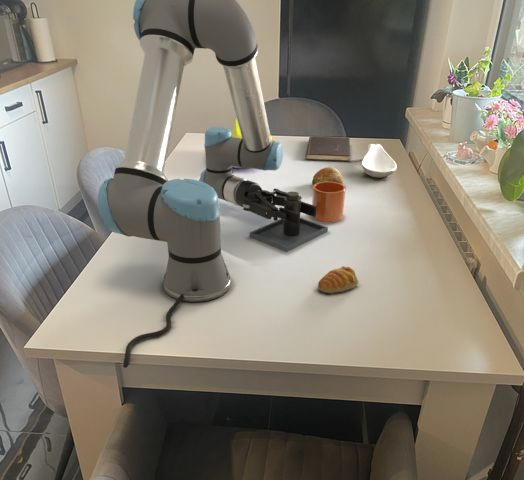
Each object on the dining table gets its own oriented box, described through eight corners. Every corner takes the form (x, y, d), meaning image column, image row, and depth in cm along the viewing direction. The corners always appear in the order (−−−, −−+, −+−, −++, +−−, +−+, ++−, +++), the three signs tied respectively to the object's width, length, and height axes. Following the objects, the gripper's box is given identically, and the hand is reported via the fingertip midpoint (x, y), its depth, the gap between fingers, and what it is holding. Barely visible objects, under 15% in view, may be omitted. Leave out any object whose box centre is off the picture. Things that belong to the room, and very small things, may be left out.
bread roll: (342, 201, 177) (353, 178, 173) (317, 192, 171) (329, 167, 168) (328, 191, 184) (339, 168, 181) (304, 181, 179) (315, 158, 175)
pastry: (330, 299, 121) (332, 284, 119) (310, 287, 125) (311, 272, 123) (360, 286, 126) (361, 271, 123) (339, 275, 130) (340, 260, 127)
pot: (329, 226, 152) (332, 195, 147) (304, 217, 157) (306, 187, 152) (348, 217, 158) (351, 186, 152) (323, 209, 162) (326, 179, 157)
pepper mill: (292, 237, 145) (293, 198, 138) (279, 233, 147) (280, 193, 141) (302, 232, 148) (304, 193, 141) (290, 228, 150) (291, 189, 143)
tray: (286, 253, 139) (286, 247, 138) (249, 238, 146) (249, 232, 145) (327, 233, 149) (327, 227, 148) (290, 219, 156) (290, 214, 155)
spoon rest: (398, 181, 182) (401, 159, 177) (363, 181, 182) (365, 159, 177) (385, 159, 201) (387, 139, 196) (353, 159, 201) (355, 139, 196)
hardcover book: (349, 143, 216) (349, 137, 215) (349, 161, 198) (349, 155, 197) (309, 142, 218) (309, 136, 217) (305, 159, 200) (305, 153, 198)
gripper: (266, 197, 161) (328, 218, 149) (219, 215, 150) (282, 240, 137) (266, 171, 157) (330, 191, 144) (218, 189, 146) (283, 212, 133)
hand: (307, 215), depth 141 cm, fingers open, 6 cm apart
